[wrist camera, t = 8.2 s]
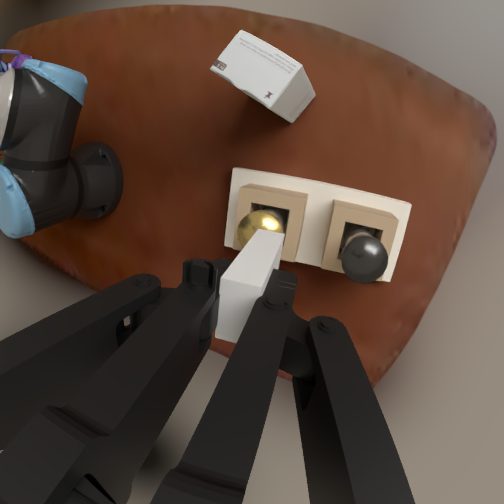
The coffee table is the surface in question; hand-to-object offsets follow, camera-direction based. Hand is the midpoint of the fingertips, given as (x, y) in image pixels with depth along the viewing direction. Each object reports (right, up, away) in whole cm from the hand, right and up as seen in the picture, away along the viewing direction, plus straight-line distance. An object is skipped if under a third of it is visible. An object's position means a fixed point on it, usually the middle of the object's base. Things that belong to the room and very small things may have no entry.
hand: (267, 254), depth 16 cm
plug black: (+13, +2, +21) cm, 25 cm away
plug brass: (+2, +5, +25) cm, 26 cm away
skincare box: (+3, +23, +21) cm, 31 cm away
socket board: (+9, +5, +26) cm, 27 cm away
